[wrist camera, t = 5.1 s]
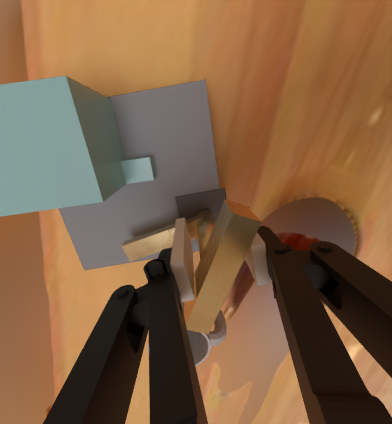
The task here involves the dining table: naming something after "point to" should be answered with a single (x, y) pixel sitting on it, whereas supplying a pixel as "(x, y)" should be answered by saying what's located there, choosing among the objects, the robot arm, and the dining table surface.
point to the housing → (164, 169)
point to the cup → (205, 338)
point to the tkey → (206, 256)
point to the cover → (60, 147)
